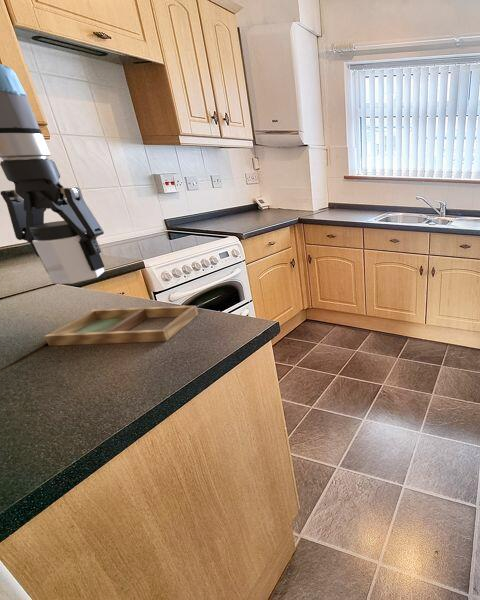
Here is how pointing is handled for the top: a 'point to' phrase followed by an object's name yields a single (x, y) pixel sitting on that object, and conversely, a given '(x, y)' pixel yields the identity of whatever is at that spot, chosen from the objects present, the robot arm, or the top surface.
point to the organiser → (120, 326)
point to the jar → (62, 253)
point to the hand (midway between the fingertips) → (76, 269)
